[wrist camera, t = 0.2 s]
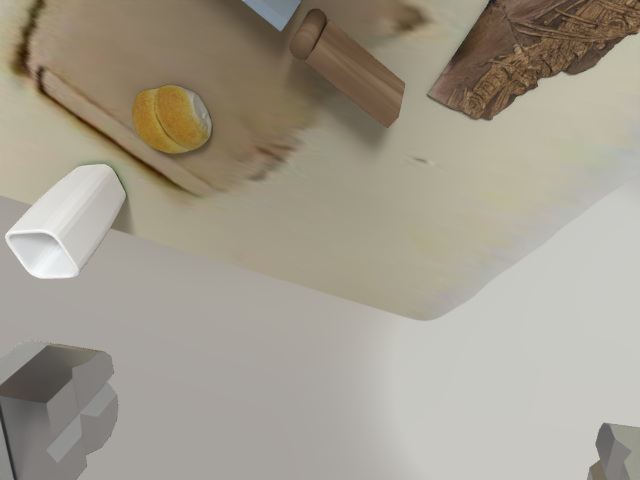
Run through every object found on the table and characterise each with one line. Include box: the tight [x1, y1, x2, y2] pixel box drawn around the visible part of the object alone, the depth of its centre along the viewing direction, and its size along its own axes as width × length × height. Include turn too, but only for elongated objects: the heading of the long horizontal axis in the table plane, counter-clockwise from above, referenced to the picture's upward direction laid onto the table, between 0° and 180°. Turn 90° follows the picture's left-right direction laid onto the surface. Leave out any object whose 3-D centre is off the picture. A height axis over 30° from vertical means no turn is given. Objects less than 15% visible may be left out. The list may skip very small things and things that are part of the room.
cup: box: [5, 164, 126, 279], centre depth 72 cm, size 7×7×15 cm
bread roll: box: [132, 85, 212, 154], centre depth 68 cm, size 8×9×4 cm
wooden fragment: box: [428, 0, 640, 120], centre depth 54 cm, size 26×11×1 cm, turn 129°
